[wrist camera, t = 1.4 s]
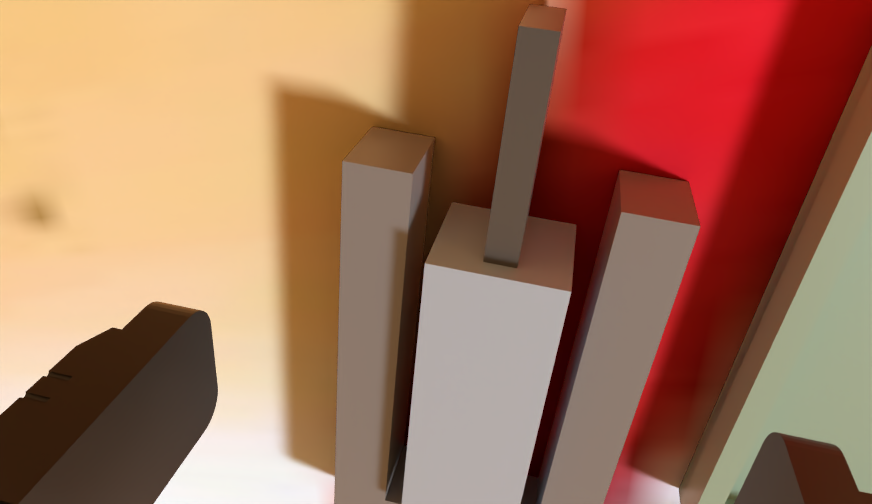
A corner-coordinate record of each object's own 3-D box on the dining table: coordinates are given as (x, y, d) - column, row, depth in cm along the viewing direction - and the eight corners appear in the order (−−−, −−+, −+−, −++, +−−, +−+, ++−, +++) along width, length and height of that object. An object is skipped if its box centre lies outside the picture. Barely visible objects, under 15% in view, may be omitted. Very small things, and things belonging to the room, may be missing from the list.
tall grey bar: (476, -8, 23) (448, 22, 18) (625, 12, 22) (629, 48, 18) (424, 441, 34) (399, 523, 30) (521, 464, 34) (509, 550, 29)
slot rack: (372, 126, 26) (342, 160, 23) (688, 181, 24) (700, 226, 21) (355, 485, 37) (333, 539, 34) (571, 539, 35) (568, 601, 32)
